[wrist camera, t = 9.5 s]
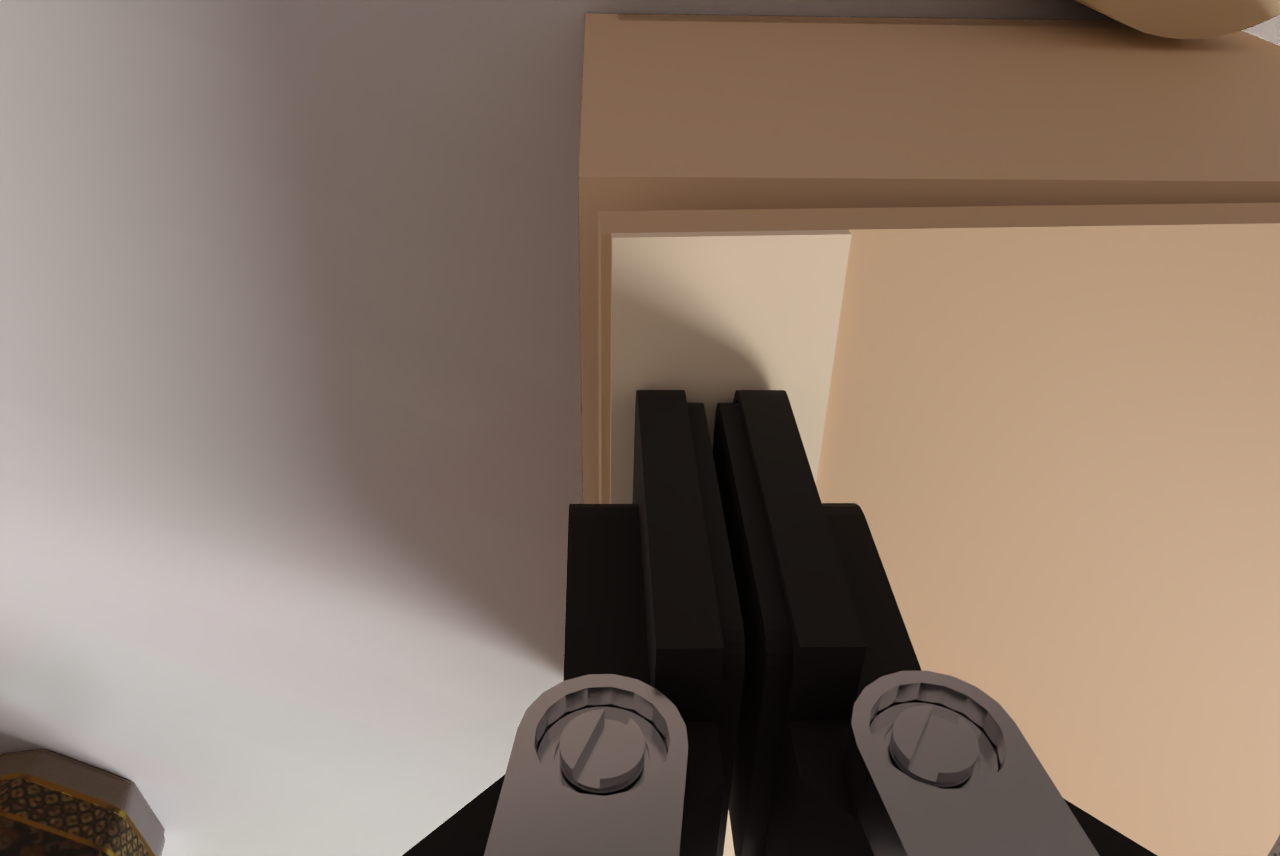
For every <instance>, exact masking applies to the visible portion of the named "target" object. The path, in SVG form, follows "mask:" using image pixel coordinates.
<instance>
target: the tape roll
mask: <svg viewBox="0 0 1280 856" xmlns="http://www.w3.org/2000/svg"><path fill="white" fill-rule="evenodd" d="M1074 1H1076V2H1078V3H1081V4H1083V5H1085V6H1087V7H1089V8H1091V9H1093V10H1095V11H1098V12H1100V13H1102V14H1104V15H1106V16H1108V17H1110V18H1112V19H1115V20H1117V21H1119V22H1121V23H1123V24H1125V25H1128V26H1130V27H1132V28H1135V29H1137V30H1139V31H1142V32H1144V33H1148V34H1152V35H1156V36H1160V37H1165V38H1176V39H1200V38H1210V37H1216V36H1221V35H1226V34H1231V33H1234V32H1237V31H1240V30H1244V29H1247V28H1250V27H1253V26H1255V25H1257V24H1260V23H1262V22H1264V21H1266V20H1269V19H1271V18H1273V17H1275V16H1277V15H1279V14H1280V0H1074Z"/></svg>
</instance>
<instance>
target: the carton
mask: <svg viewBox="0 0 1280 856" xmlns="http://www.w3.org/2000/svg"><path fill="white" fill-rule="evenodd" d="M578 191H579V263H580V336H581V408H582V481H583V504H599V372H598V211H659V210H737V209H815V208H893V207H971V206H1049V205H1127V204H1205V203H1280V46H1278V45H1275V44H1273V43H1270V42H1268V41H1265V40H1263V39H1260V38H1258V37H1255V36H1253V35H1250V34H1248V33H1245V32H1243V31H1237V32H1234V33H1231V34H1226V35H1221V36H1216V37H1210V38H1200V39H1176V38H1165V37H1160V36H1156V35H1152V34H1148V33H1144V32H1142V31H1139V30H1137V29H1135V28H1132V27H1130V26H1128V25H1125V24H1123V23H1121V22H1119V21H1097V20H1025V19H953V18H881V17H808V16H736V15H664V14H592V13H586V15H585V37H584V60H583V82H582V105H581V127H580V150H579V172H578Z"/></svg>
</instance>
